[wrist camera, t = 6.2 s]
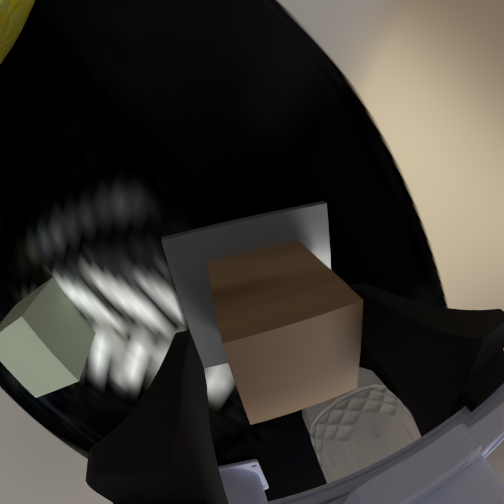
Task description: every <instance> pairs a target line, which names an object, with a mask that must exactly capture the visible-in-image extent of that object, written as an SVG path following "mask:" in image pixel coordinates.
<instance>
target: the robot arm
mask: <svg viewBox="0 0 504 504" xmlns="http://www.w3.org/2000/svg"><path fill="white" fill-rule="evenodd" d="M350 288H351V289H352V290H353V291H354V292H355V293H356V294H358V295H359V296H360V297H361V298H362V299H363V320H362V337H361V341H362V343H363V344H364V345H365V346H366V348H367V349H368V350H369V351H370V352H371V354H372V355H373V356H374V357H375V358H376V359H377V361H378V362H379V363H380V364H381V365H382V367H383V368H384V369H385V370H386V372H387V373H388V374H389V376H390V377H391V379H392V381H393V382H394V384H395V385H396V387H397V389H398V390H399V392H400V394H401V396H402V397H403V399H404V401H405V403H406V405H407V407H408V409H409V411H410V413H411V415H412V417H413V419H414V421H415V423H416V425H417V428H418V430H419V433H420V435H421V438H419V439H417V440H416V441H414V442H413V443H411V444H409V445H407V446H406V447H404V448H402V449H401V450H399V451H397V452H395V453H393V454H392V455H390V456H388V457H386V458H384V459H382V460H380V461H378V462H376V463H374V464H372V465H370V466H368V467H366V468H364V469H361V470H359V471H357V472H355V473H352V474H350V475H348V476H345V477H343V478H341V479H338V480H336V481H333V482H330V483H328V484H325V485H322V486H320V487H317V488H314V489H311V490H308V491H305V492H302V493H299V494H295V495H292V496H289V497H285V498H281V499H278V500H274V501H270V502H267V499H266V496H265V492H264V490H266V489H268V488H269V486H268V484H267V481H266V479H265V477H264V475H263V472H262V470H261V468H260V465H259V463H258V460H256V459H251V460H246V461H242V462H237V463H232V464H227V465H222V466H218V464H217V460H216V456H215V452H214V447H213V442H212V438H211V432H210V423H209V411H208V397H207V384H206V378H205V373H204V368H203V363H202V361H201V358H200V356H199V353H198V351H197V348H196V345H195V343H194V340H193V337H192V334H191V332H190V330H187V331H183V332H178V333H176V334H175V335H174V338H173V340H172V342H171V345H170V347H169V350H168V352H167V354H166V356H165V358H164V360H163V362H162V365H161V367H160V369H159V371H158V372H157V374H156V376H155V378H154V380H153V381H152V383H151V385H150V386H149V388H148V390H147V391H146V393H145V394H144V396H143V397H142V398H141V400H140V401H139V403H138V404H137V405H136V406H135V407H134V409H133V410H132V411H131V412H130V413H129V415H128V416H127V417H126V418H125V419H124V420H123V421H122V422H121V423H120V424H119V425H118V426H117V427H116V428H115V429H114V430H113V431H112V432H111V433H109V434H108V435H107V436H106V437H105V438H103V439H102V440H101V441H100V442H98V443H97V444H96V445H94V446H93V447H92V448H90V452H89V457H88V464H87V473H86V482H87V484H88V485H89V486H90V487H91V488H92V489H93V490H94V491H96V492H97V493H99V494H100V495H102V496H103V497H105V498H106V499H108V500H110V501H111V502H113V504H504V483H503V482H502V480H501V479H500V478H499V477H498V475H497V474H496V473H495V471H494V470H493V469H492V467H490V465H489V464H488V462H487V461H486V460H485V458H486V457H487V456H488V455H489V454H490V453H491V452H492V451H493V450H494V449H495V448H496V447H497V446H498V445H499V444H500V443H501V442H502V441H503V440H504V350H503V348H504V311H502V310H501V309H493V310H458V309H450V308H443V307H437V306H433V305H428V304H424V303H420V302H417V301H413V300H410V299H407V298H404V297H401V296H398V295H395V294H392V293H390V292H387V291H384V290H382V289H379V288H376V287H373V286H371V285H368V284H364V283H358V284H355V285H352V286H350Z"/></svg>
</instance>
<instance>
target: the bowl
mask: <svg viewBox="0 0 504 504" xmlns="http://www.w3.org/2000/svg"><path fill="white" fill-rule="evenodd" d="M34 2H35V0H0V64H1V63H2V61H3V60H4V58H5V57H6V55H7V54H8V52H9V51H10V50H11V48H12V47H13V45H14V43H15V41H16V40H17V37H18V36H19V34H20V32H21V30H22V28H23V26H24V24H25V22H26V20H27V18H28V16H29V13H30V11H31V9H32V6H33V4H34Z"/></svg>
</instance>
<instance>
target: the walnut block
mask: <svg viewBox="0 0 504 504" xmlns="http://www.w3.org/2000/svg"><path fill="white" fill-rule="evenodd" d="M206 263H207V268H208V274H209V279H210V285H211V290H212V295H213V301H214V306H215V311H216V316H217V321H218V326H219V331H220V335H221V340H222V344H223V347H224V351H225V354H226V357H227V360H228V363H229V366H230V369H231V372H232V374H233V377H234V380H235V383H236V386H237V389H238V392H239V394H240V397H241V400H242V403H243V406H244V408H245V411H246V414H247V417H248V419H249V422H250V425H251V424H255V423H259V422H263V421H266V420H270V419H273V418H277V417H280V416H283V415H286V414H290V413H293V412H296V411H299V410H302V409H305V408H308V407H310V406H313V405H316V404H319V403H321V402H324V401H327V400H329V399H332V398H334V397H337V396H339V395H342V394H344V393H347V392H349V391H351V390H354V389H356V388H357V380H358V371H359V361H360V350H361V337H362V320H363V299H362V298H361V297H360V296H359V295H358V294H356V293H355V292H354V291H353V290H352V289H351V288H350V287H349V286H348V285H347V284H346V283H345V282H344V281H343V280H341V279H340V278H339V277H338V276H337V275H336V274H335V273H334V272H333V271H332V270H331V269H330V268H328V267H327V266H326V265H325V264H324V263H323V262H322V261H321V260H320V259H319V258H317V257H316V256H315V255H314V254H313V253H312V252H311V251H310V250H309V249H307V248H306V247H305V246H304V245H303V244H302V243H301V242H300V241H298V240H294V241H290V242H286V243H282V244H278V245H274V246H270V247H266V248H262V249H258V250H254V251H250V252H246V253H242V254H238V255H234V256H230V257H226V258H222V259H218V260H214V261H210V262H206Z"/></svg>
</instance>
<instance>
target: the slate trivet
mask: <svg viewBox="0 0 504 504" xmlns="http://www.w3.org/2000/svg"><path fill="white" fill-rule="evenodd" d="M294 240H298V241H300V242H301V243H302V244H303V245H304V246H305V247H306V248H307V249H309V250H310V251H311V252H312V253H313V254H314V255H315V256H316V257H317V258H319V259H320V260H321V261H322V262H323V263H324V264H325V265H326V266H327V267H328V268H330V269H331V257H330V240H329V226H328V214H327V203H325V202H323V201H321V202H316V203H311V204H306V205H301V206H296V207H291V208H287V209H282V210H277V211H272V212H268V213H263V214H258V215H254V216H249V217H245V218H240V219H236V220H231V221H227V222H223V223H218V224H214V225H210V226H205V227H201V228H197V229H193V230H189V231H185V232H180V233H176V234H172V235H168V236H164V237H162V239H161V242H162V245H163V249H164V252H165V256H166V259H167V262H168V266H169V269H170V272H171V275H172V279H173V282H174V285H175V288H176V291H177V294H178V297H179V300H180V303H181V306H182V309H183V312H184V315H185V318H186V320H187V323H188V326H189V329H190V332H191V334H192V337H193V340H194V343H195V345H196V348H197V351H198V353H199V356H200V358H201V361H202V363H203V366H204V368H207V367H211V366H216V365H220V364H224V363H228V360H227V357H226V354H225V351H224V347H223V344H222V340H221V335H220V331H219V326H218V321H217V316H216V311H215V306H214V301H213V295H212V290H211V285H210V279H209V274H208V268H207V263H206V262H210V261H214V260H218V259H222V258H226V257H230V256H234V255H238V254H242V253H246V252H250V251H254V250H258V249H262V248H266V247H270V246H274V245H278V244H282V243H286V242H290V241H294Z"/></svg>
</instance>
